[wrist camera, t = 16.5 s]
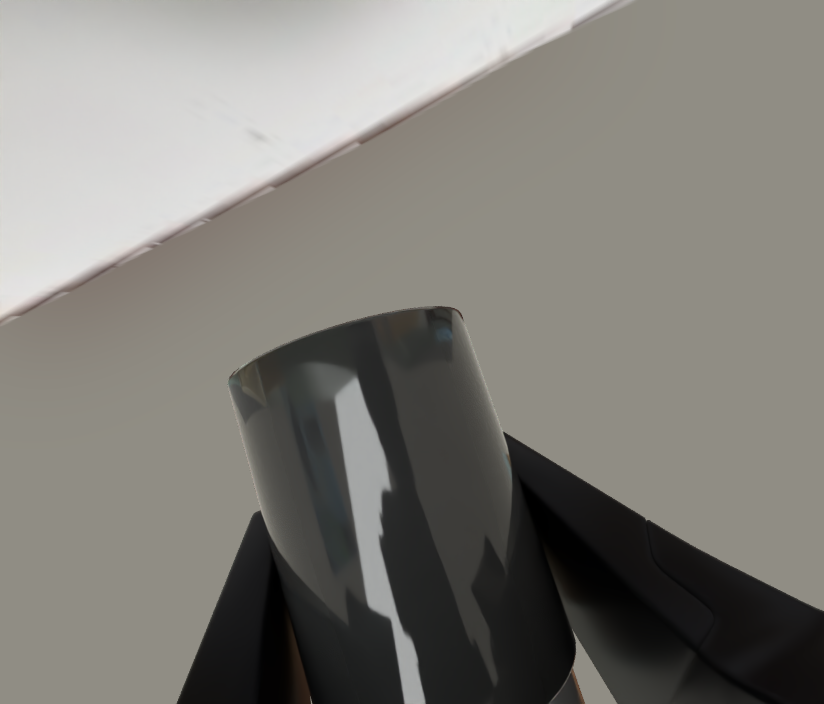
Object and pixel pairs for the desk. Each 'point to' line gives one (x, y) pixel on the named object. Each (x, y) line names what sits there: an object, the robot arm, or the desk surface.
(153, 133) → the desk surface
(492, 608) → the pepper shaker
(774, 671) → the robot arm
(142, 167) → the desk surface
